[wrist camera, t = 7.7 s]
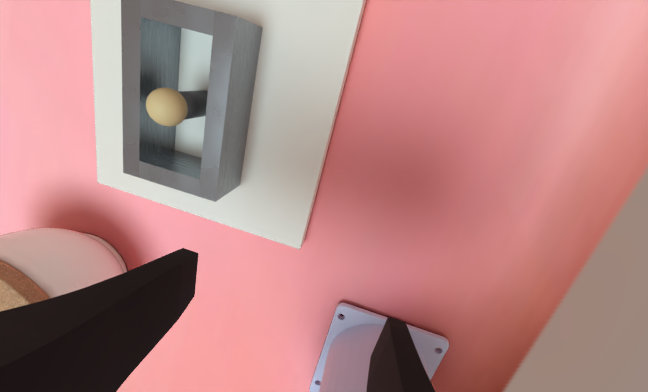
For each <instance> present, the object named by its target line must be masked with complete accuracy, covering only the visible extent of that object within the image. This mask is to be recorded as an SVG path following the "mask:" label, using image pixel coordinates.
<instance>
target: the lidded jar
mask: <svg viewBox="0 0 648 392" xmlns="http://www.w3.org/2000/svg"><path fill="white" fill-rule="evenodd" d="M125 272H128V271H127V267H126V265H125V263H124V260H123V259H122V257H121V256H120V254H119V253H118V252H117V250H116V249H115V248H114V247H113V246H112V245H110V244H109V243H108V242H107V241H105V240H103V239H102V238H100V237H98V236H95V235H92V234H88V233H80V232H77V231H72V230H68V229H62V228H32V229H27V230H22V231H16V232H11V233H7V234H3V235H0V311H4V310H8V309H12V308H16V307H20V306H24V305H28V304H32V303H36V302H40V301H43V300H47V299H50V298H54V297H57V296H60V295H63V294H67V293H70V292H73V291H76V290H79V289H82V288H85V287H88V286H91V285H93V284H96V283H99V282H101V281H104V280H107V279H109V278H112V277H115V276H117V275H120V274H123V273H125Z"/></svg>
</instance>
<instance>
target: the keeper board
mask: <svg viewBox="0 0 648 392" xmlns="http://www.w3.org/2000/svg"><path fill="white" fill-rule="evenodd" d="M175 1H179V2H183V3H187V4H191V5H195V6H199V7H203V8H207V9H211V10H215V11H219V12H223V13H227V14H231V15H235V16H238V17H240V18H242V19H245V20H247V21H249V22H251V23H254V24H256V25H258V26H261V27H263V30H262V36H261V43H260V50H259V57H258V64H257V71H256V78H255V85H254V92H253V99H252V106H251V113H250V120H249V127H248V134H247V141H246V148H245V155H244V162H243V169H242V176H241V183H240V185H239V186H238V187H237V188H235V189H234V190H232V191H231V192H229V193H228V194H226V195H225V196H223V197H222V198H220V199H219V200H217V201H216V202H214V201H211V200H208V199H204V198H201V197H198V196H195V195H192V194H189V193H185V192H182V191H179V190H176V189H173V188H170V187H167V186H163V185H160V184H157V183H154V182H151V181H148V180H144V179H141V178H138V177H135V176H132V175H129V174H126V173H123V122H122V45H121V0H90V3H91V29H92V54H93V80H94V105H95V131H96V156H97V181H98V183H101V184H104V185H107V186H110V187H113V188H116V189H119V190H122V191H125V192H128V193H131V194H134V195H137V196H140V197H143V198H146V199H149V200H152V201H155V202H158V203H161V204H164V205H167V206H170V207H173V208H176V209H179V210H182V211H185V212H188V213H191V214H194V215H197V216H200V217H203V218H206V219H209V220H212V221H215V222H218V223H221V224H225V225H228V226H231V227H234V228H237V229H240V230H243V231H246V232H249V233H252V234H255V235H258V236H261V237H264V238H267V239H270V240H273V241H276V242H279V243H282V244H285V245H288V246H291V247H294V248H297V249H300V248H301V246H302V245H303V243H304V239H305V236H306V232H307V228H308V224H309V220H310V216H311V212H312V208H313V205H314V201H315V197H316V193H317V189H318V185H319V181H320V177H321V174H322V170H323V166H324V162H325V158H326V154H327V150H328V147H329V143H330V139H331V135H332V131H333V127H334V123H335V119H336V116H337V112H338V108H339V104H340V100H341V96H342V92H343V89H344V85H345V81H346V77H347V73H348V69H349V65H350V61H351V58H352V54H353V50H354V46H355V42H356V38H357V34H358V31H359V27H360V23H361V19H362V15H363V11H364V7H365V3H366V0H175ZM212 39H213V36H211V35H207V34H203V33H199V32H195V31H192V30H188V29H184V28H181V43H180V62H179V81H178V91H176V90H174V89H171V88H158V89H155V90H154V91H152V92H151V93H150V94H149V96H148V97H147V100H146V109H147V112H148V114H149V116H150V117H151V118H152V119H153V120H154V121H155V122H157V123H158V124H161V125H163V126H175V125H176V137H175V150H177V151H180V152H183V153H187V154H190V155H193V156H197V157H200V158H202V151H203V140H204V128H205V117H206V106H207V95H208V84H209V72H210V61H211V50H212Z"/></svg>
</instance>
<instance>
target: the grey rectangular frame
mask: <svg viewBox="0 0 648 392" xmlns="http://www.w3.org/2000/svg"><path fill="white" fill-rule="evenodd" d="M181 28H184V29H188V30H192V31H195V32H199V33H203V34H207V35H211V36H213V39H212V50H211V61H210V72H209V84H208V95H207V106H206V117H205V128H204V140H203V151H202V158H200V157H197V156H193V155H190V154H187V153H183V152H180V151H177V150H175V137H176V125H175V126H163V125H161V124H158V123H157V122H155V121H154V120H153V119H152V118H151V117H150V116H149V114H148V112H147V109H146V100H147V97H148V96H149V94H150V93H151V92H152V91H154V90H155V89H158V88H171V89H174V90H176V91H178V81H179V62H180V43H181ZM262 30H263V27H261V26H258V25H256V24H254V23H251V22H249V21H247V20H245V19H242V18H240V17H238V16H235V15H231V14H227V13H223V12H219V11H215V10H211V9H207V8H203V7H199V6H195V5H191V4H187V3H183V2H179V1H175V0H121V45H122V122H123V173H126V174H129V175H132V176H135V177H138V178H141V179H144V180H148V181H151V182H154V183H157V184H160V185H163V186H167V187H170V188H173V189H176V190H179V191H182V192H185V193H189V194H192V195H195V196H198V197H201V198H204V199H208V200H211V201H214V202H216V201H217V200H219V199H220V198H222V197H223V196H225V195H226V194H228V193H229V192H231V191H232V190H234V189H235V188H237V187H238V186H239V185H240V183H241V176H242V169H243V162H244V155H245V148H246V141H247V134H248V127H249V120H250V113H251V106H252V99H253V92H254V85H255V78H256V71H257V64H258V57H259V50H260V43H261V36H262Z"/></svg>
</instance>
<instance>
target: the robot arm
mask: <svg viewBox="0 0 648 392" xmlns="http://www.w3.org/2000/svg"><path fill="white" fill-rule="evenodd" d="M197 261H198V253H196V252H193V251H190V250H187V249H184V248H182V249H180V250H177V251H175V252H172V253H170V254H168V255H165V256H163V257H161V258H158V259H156V260H154V261H151V262H149V263H147V264H144V265H142V266H140V267H137V268H135V269H132V270H130V271H128V272H125V273H123V274H120V275H117V276H115V277H112V278H109V279H107V280H104V281H101V282H99V283H96V284H93V285H91V286H88V287H85V288H82V289H79V290H76V291H73V292H70V293H67V294H63V295H60V296H57V297H54V298H50V299H47V300H43V301H40V302H36V303H32V304H28V305H24V306H20V307H16V308H12V309H8V310H4V311H0V392H116V391H117V390H118V388H119V387H120V386H121V385H122V384H123V382H124V381H125V380H126V379H127V377H128V376H129V375H130V374H131V373H132V372H133V370H134V369H135V368H136V367H137V366H138V365H139V364H140V362H141V361H142V360H143V359H144V358H145V357H146V356H147V355H148V353H149V352H150V351H151V350H152V349H153V348H154V347H155V345H156V344H157V343H158V342H159V341H160V340H161V339H162V337H163V336H164V335H165V334H166V333H167V332H168V331H169V329H170V328H171V327H172V326H173V325H174V324H175V322H176V321H177V320H178V319H179V317H180V316H181V315H182V313H183V312H184V310H185V309H186V307H187V306H188V304H189V303H190V301H191V300H192V298H193V297H194V294H195V283H196V272H197ZM339 314H343V315H344V316H340V315H339ZM436 348H440V349H436ZM448 348H449V343H448V340H447V339H446V338H445V337H443V336H440V335H437V334H434V333H431V332H428V331H425V330H423V329H420V328H417V327H414V326H411V325H408V324H406V323H405V322H403V321H400V320H397V319H394V318H391V317H385V316H382V315H379V314H376V313H373V312H370V311H367V310H364V309H362V308H359V307H356V306H353V305H350V304H347V303H339V304H338V305H337V308H336V311H335V314H334V316H333V319H332V322H331V325H330V328H329V331H328V334H327V337H326V340H325V343H324V346H323V349H322V352H321V355H320V358H319V361H318V364H317V367H316V370H315V373H314V376H313V378H312V381H311V384H310V388H309V390H310V392H435V390H434V388H433V386H432V384H431V382H430V380H431V379H432V377H433V375H434V373H435V371H436V370H437V368H438V366H439V364H440V362H441V361H442V359H443V357H444V355H445V353H446V352H447V350H448ZM318 380H319V381H318Z"/></svg>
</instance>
